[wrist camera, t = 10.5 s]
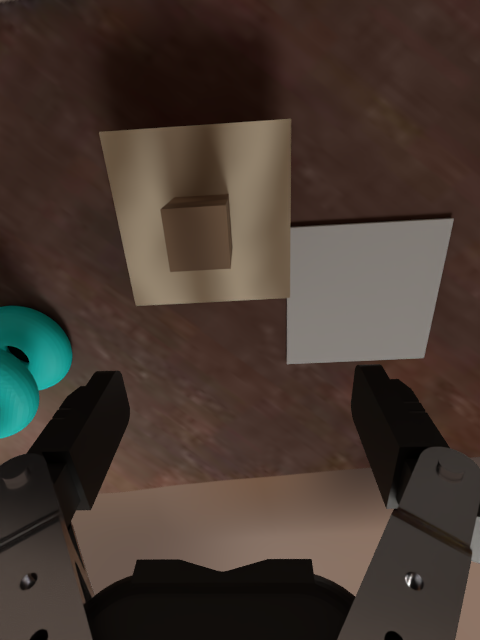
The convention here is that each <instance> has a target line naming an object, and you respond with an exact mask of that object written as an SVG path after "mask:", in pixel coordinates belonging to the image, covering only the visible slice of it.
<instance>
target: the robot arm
mask: <svg viewBox="0 0 480 640" xmlns="http://www.w3.org/2000/svg"><path fill="white" fill-rule="evenodd" d="M351 411H352V417H353V421H354V423H355V426H356V429H357V431H358V434H359V437H360V439H361V442H362V445H363V447H364V450H365V453H366V455H367V458H368V461H369V463H370V466H371V469H372V471H373V474H374V477H375V479H376V482H377V485H378V487H379V490H380V493H381V496H382V498H383V501H384V503H385V506H386V508H387V509H394V510H393V512H392V514H391V516H390V519H389V521H388V524H387V526H386V528H385V530H384V533H383V535H382V537H381V539H380V542H379V544H378V546H377V549H376V551H375V553H374V556H373V558H372V560H371V563H370V565H369V567H368V570H367V572H366V574H365V576H364V579H363V581H362V583H361V586H360V588H359V590H358V592H357V595H356V597H355V596H354V595H353V594H351V593H350V592H348V591H347V590H346V589H344V588H343V587H341V586H340V585H338V584H336V583H335V582H333V581H331V580H328V579H326V578H324V577H321V576H318V575H315V574H314V573H313V566H312V560H311V559H267V560H264V561H260V562H257V563H254V564H250V565H246V566H243V567H239V568H236V569H233V570H229V571H225V572H220V571H216V570H212V569H209V568H206V567H203V566H199V565H195V564H193V563H189V562H186V561H183V560H137V561H136V565H135V569H134V573H133V575H132V576H129V577H126V578H124V579H122V580H119V581H117V582H115V583H113V584H112V585H110V586H108V587H106V588H105V589H103V590H102V591H100V592H99V593H98V594H96V595H95V594H94V591H93V589H92V586H91V583H90V580H89V577H88V573H87V571H86V567H85V564H84V560H83V557H82V554H81V551H80V548H79V544H78V541H77V538H76V535H75V531H74V528H73V525H72V523H71V520H72V518H73V515H74V513H75V511H76V510H91V508H92V506H93V504H94V502H95V499H96V497H97V495H98V492H99V490H100V488H101V485H102V483H103V481H104V478H105V476H106V474H107V471H108V469H109V467H110V464H111V462H112V460H113V457H114V455H115V453H116V450H117V448H118V446H119V444H120V441H121V439H122V437H123V434H124V432H125V430H126V427H127V425H128V422H129V417H130V407H129V402H128V398H127V394H126V390H125V386H124V382H123V377H122V374H121V372H120V371H97V372H95V373H94V374H93V376H92V377H91V379H90V380H89V382H88V383H87V385H86V386H80V387H79V388H78V389H76V390H75V391H74V392H72V393H71V394H70V395H69V396H67V398H66V399H65V400H64V402H63V403H62V405H61V406H60V407H59V410H57V412H56V413H55V414H54V416H53V419H52V420H50V421H49V423H48V424H47V426H46V427H45V428H44V430H43V431H42V433H41V434H40V435H39V437H38V438H37V440H36V441H35V442H34V444H33V445H32V447H31V448H30V449H29V451H28V452H27V454H23V455H19V456H17V457H14V458H12V459H10V460H8V461H6V462H5V463H3V464H2V465H0V640H455V638H456V632H457V628H458V622H459V618H460V613H461V608H462V603H463V598H464V594H465V589H466V584H467V579H468V574H469V569H470V564H471V561H473V562H476V563H480V468H479V467H478V465H477V464H476V463H475V462H474V461H473V460H471V459H470V458H469V457H467V456H466V455H464V454H462V453H461V452H458V451H456V450H453V449H450V447H449V446H448V444H447V443H446V441H445V440H444V438H443V437H442V435H441V434H440V432H439V431H438V429H437V427H436V426H435V424H434V423H433V421H432V420H431V418H430V417H429V415H428V414H427V413H425V409H424V408H423V406H422V405H421V403H419V400H418V398H417V397H416V395H415V394H414V392H413V391H412V389H411V388H409V387H408V386H407V385H405V384H404V383H403V382H401V381H400V380H399V379H389V377H388V375H387V374H386V372H385V370H384V369H383V367H382V366H381V365H380V364H378V365H357V366H356V368H355V374H354V382H353V391H352V399H351Z"/></svg>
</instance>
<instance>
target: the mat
mask: <svg viewBox="0 0 480 640" xmlns="http://www.w3.org/2000/svg"><path fill="white" fill-rule="evenodd" d="M453 220H454V219H453V218H440V219H422V220H404V221H387V222H369V223H351V224H333V225H316V226H298V227H290V298H287V364H301V363H323V362H346V361H368V360H390V359H413V358H424V355H425V350H426V346H427V341H428V336H429V332H430V327H431V322H432V318H433V313H434V309H435V304H436V299H437V295H438V290H439V285H440V281H441V276H442V271H443V267H444V262H445V257H446V253H447V248H448V243H449V239H450V234H451V229H452V225H453Z"/></svg>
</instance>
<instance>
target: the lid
mask: <svg viewBox="0 0 480 640" xmlns="http://www.w3.org/2000/svg"><path fill="white" fill-rule="evenodd" d="M99 135H100V139H101V144H102V149H103V153H104V158H105V163H106V168H107V172H108V177H109V182H110V186H111V191H112V196H113V200H114V205H115V210H116V214H117V219H118V224H119V228H120V233H121V238H122V243H123V247H124V252H125V257H126V261H127V266H128V271H129V275H130V280H131V285H132V289H133V294H134V299H135V304H136V306H143V305H162V304H181V303H201V302H220V301H239V300H258V299H277V298H290V225H291V119H281V120H267V121H252V122H238V123H223V124H208V125H194V126H179V127H164V128H150V129H135V130H120V131H106V132H99Z"/></svg>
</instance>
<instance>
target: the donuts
mask: <svg viewBox="0 0 480 640" xmlns="http://www.w3.org/2000/svg"><path fill="white" fill-rule="evenodd" d="M7 346H13V347H16V348H18V349H20V350H22V351H23V352H24V353H25V354H26V355H27V357H28V359H29V362H25V361H22V360H20V359H18V358H17V357H15V356H14V355H13V354H12V353H11V352H10V351H9V349H8V347H7ZM71 363H72V348H71V344H70V341H69V339H68V337H67V335H66V334H65V332H64V331H63V329H62V328H61V327H60V326H59V325H58V324H57V323H56V322H55V321H54V320H52V319H51V318H50V317H48V316H47V315H45V314H43V313H41V312H39V311H37V310H34V309H31V308H27V307H22V306H3V307H0V438H5V437H8V436H11V435H13V434H15V433H17V432H19V431H21V430H22V429H23V428H25V427H26V426H27V425H28V424H29V423H30V422H31V421H32V419H33V418H34V416H35V414H36V412H37V409H38V406H39V390H43V389H46V388H49V387H51V386H53V385H55V384H57V383H58V382H59V381H61V380H62V379H63V378H64V377H65V375H66V374H67V372H68V371H69V369H70V366H71Z"/></svg>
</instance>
